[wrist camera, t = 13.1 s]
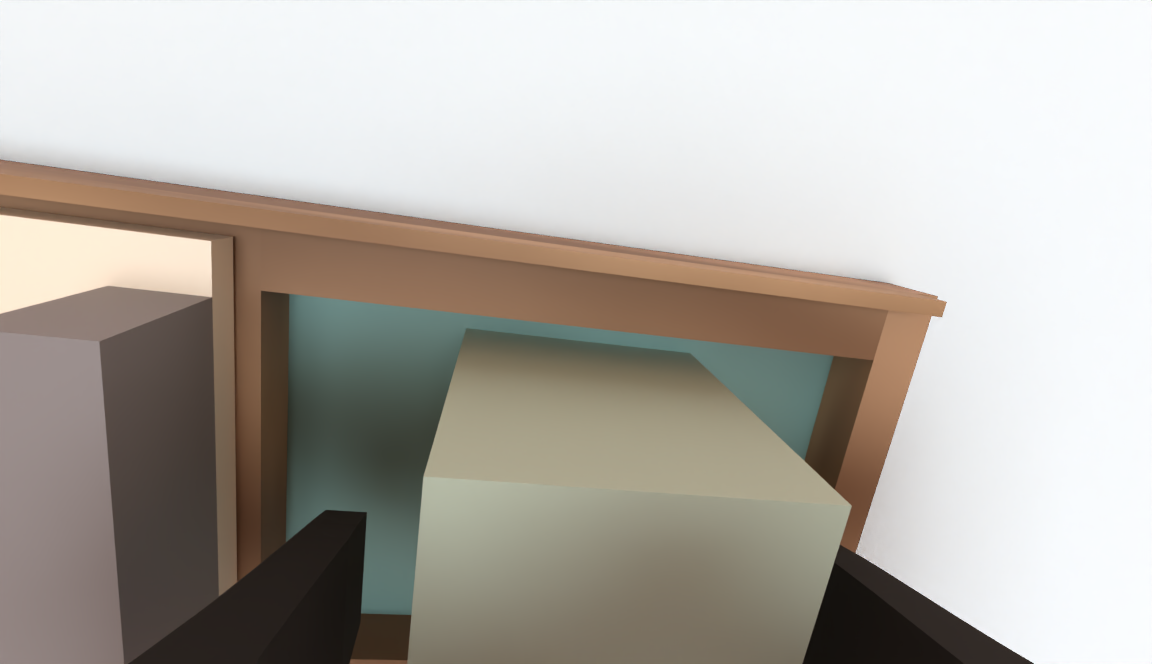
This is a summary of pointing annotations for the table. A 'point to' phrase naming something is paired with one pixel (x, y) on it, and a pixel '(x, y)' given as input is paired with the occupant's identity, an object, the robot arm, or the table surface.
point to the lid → (112, 435)
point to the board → (494, 303)
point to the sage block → (613, 515)
